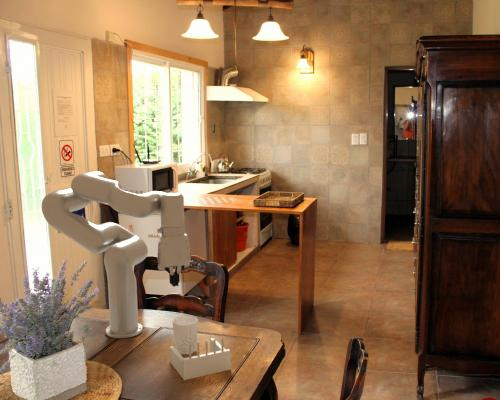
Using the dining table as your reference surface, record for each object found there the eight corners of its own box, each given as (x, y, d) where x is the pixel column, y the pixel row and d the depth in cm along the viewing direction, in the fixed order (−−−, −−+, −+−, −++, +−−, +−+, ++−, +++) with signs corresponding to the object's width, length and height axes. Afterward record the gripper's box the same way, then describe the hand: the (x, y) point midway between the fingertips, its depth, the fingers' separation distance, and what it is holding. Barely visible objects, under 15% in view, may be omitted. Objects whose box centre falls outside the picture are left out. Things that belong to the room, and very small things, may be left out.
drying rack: (170, 362, 165) (169, 330, 164) (213, 352, 171) (213, 322, 170) (184, 380, 154) (183, 346, 152) (230, 369, 160) (230, 337, 159)
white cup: (194, 356, 169) (193, 326, 167) (170, 354, 170) (169, 324, 169) (201, 346, 177) (200, 316, 175) (178, 344, 178) (177, 315, 177)
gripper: (153, 235, 170) (156, 291, 173) (198, 230, 177) (199, 285, 179) (147, 231, 177) (149, 285, 180) (190, 226, 183) (192, 279, 186)
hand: (174, 285), depth 179 cm, fingers closed
